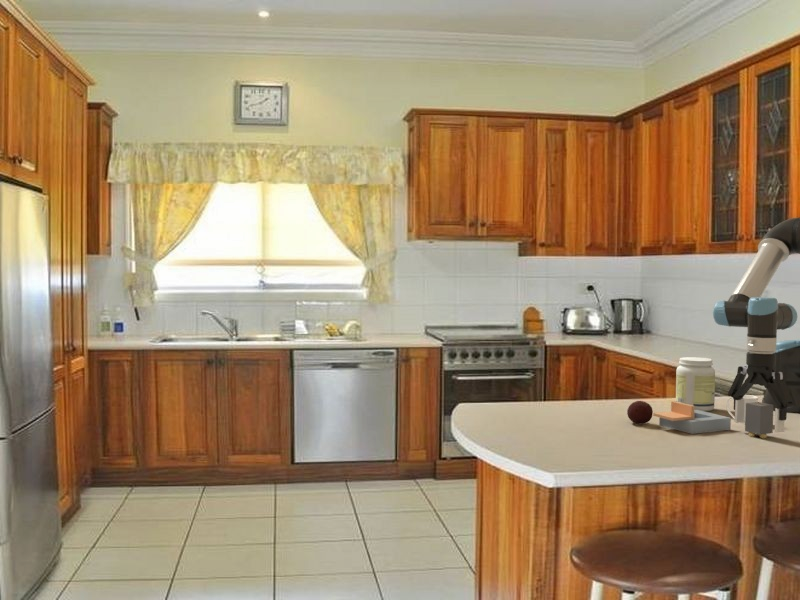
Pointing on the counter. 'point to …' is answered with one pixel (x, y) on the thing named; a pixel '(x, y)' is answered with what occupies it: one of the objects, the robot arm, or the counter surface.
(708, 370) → the supplement tub
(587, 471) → the counter surface
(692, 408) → the orange l-shaped bracket
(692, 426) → the socket block
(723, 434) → the counter surface
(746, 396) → the cup
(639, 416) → the dark brown ball
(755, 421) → the plug
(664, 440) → the counter surface
